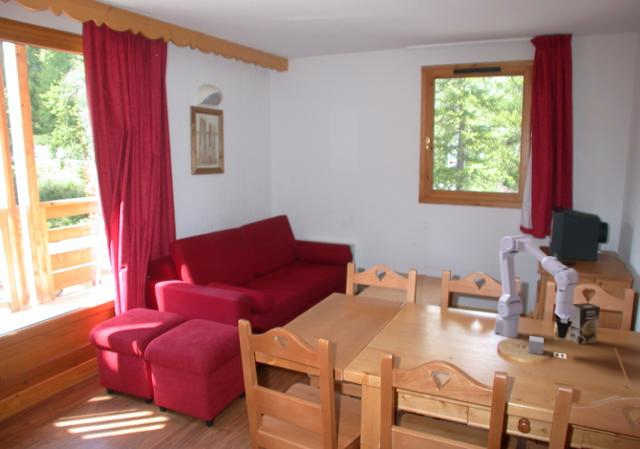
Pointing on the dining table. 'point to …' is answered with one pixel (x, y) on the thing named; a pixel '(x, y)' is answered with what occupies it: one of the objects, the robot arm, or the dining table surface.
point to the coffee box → (584, 323)
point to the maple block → (558, 335)
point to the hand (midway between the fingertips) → (561, 334)
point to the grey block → (536, 345)
